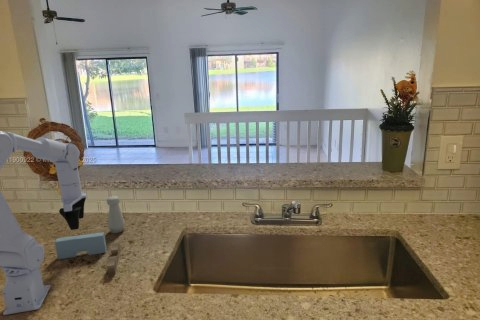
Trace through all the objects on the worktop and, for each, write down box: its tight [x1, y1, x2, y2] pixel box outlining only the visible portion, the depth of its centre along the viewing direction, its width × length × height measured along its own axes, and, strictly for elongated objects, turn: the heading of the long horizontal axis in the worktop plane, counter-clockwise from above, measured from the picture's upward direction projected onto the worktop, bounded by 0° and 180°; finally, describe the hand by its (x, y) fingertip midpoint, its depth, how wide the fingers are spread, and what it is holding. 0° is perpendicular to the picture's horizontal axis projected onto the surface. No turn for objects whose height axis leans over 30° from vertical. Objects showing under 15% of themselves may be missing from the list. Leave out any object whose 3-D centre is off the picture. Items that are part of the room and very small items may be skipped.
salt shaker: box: [106, 195, 126, 234], centre depth 121 cm, size 6×6×13 cm
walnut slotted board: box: [106, 241, 121, 276], centre depth 102 cm, size 14×2×3 cm, turn 13°
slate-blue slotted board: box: [54, 231, 108, 260], centre depth 107 cm, size 2×14×6 cm, turn 103°
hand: (77, 223), depth 105 cm, fingers open, 7 cm apart
